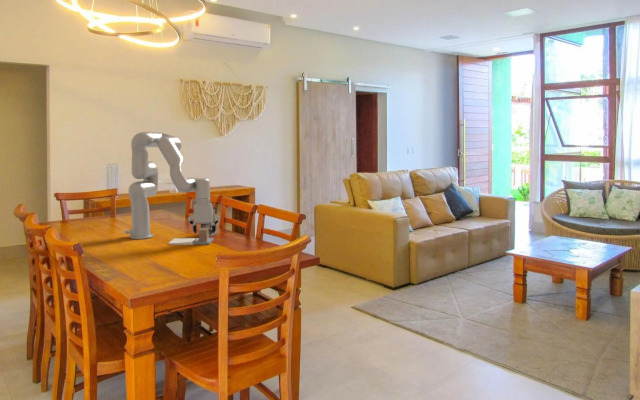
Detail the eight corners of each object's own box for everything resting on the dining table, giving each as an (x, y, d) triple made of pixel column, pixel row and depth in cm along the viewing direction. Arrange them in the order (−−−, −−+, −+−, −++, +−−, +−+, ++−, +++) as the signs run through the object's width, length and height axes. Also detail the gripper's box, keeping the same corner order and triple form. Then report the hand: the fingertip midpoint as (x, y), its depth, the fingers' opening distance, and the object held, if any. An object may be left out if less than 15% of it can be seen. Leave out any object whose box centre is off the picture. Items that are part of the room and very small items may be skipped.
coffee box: (211, 236, 281) (210, 208, 279) (200, 236, 282) (199, 208, 280) (217, 233, 290) (216, 206, 288) (207, 233, 291) (206, 206, 289)
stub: (194, 244, 260) (193, 231, 259) (198, 239, 272) (198, 227, 271) (209, 244, 260) (209, 231, 259) (213, 239, 272) (213, 227, 271)
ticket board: (168, 244, 260) (168, 242, 259) (174, 239, 271) (174, 237, 271) (193, 244, 260) (193, 242, 260) (198, 239, 272) (198, 237, 272)
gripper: (185, 202, 259) (186, 234, 261) (218, 201, 260) (219, 233, 262) (188, 200, 267) (190, 231, 269) (220, 200, 267) (221, 231, 269)
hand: (204, 232), depth 265 cm, fingers open, 9 cm apart
